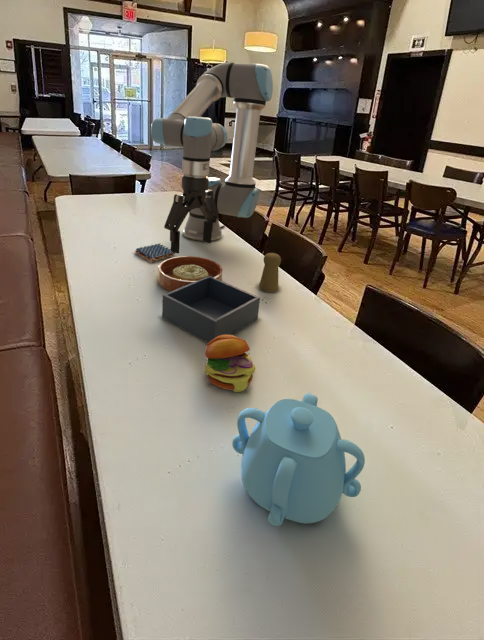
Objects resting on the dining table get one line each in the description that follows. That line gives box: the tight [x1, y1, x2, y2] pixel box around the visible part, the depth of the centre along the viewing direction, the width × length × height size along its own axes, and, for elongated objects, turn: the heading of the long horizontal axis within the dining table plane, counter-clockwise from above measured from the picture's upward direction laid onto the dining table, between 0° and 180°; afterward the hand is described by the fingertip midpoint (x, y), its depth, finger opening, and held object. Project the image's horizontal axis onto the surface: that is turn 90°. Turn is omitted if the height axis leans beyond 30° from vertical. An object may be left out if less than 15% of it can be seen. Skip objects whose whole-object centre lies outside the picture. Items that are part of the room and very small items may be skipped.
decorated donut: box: [173, 264, 208, 281], centre depth 126 cm, size 10×11×4 cm
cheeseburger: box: [204, 334, 257, 393], centre depth 85 cm, size 10×11×10 cm
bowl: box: [157, 255, 223, 292], centre depth 126 cm, size 19×19×4 cm
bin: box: [161, 276, 261, 344], centre depth 106 cm, size 18×18×6 cm
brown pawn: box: [258, 252, 282, 293], centre depth 125 cm, size 6×6×11 cm
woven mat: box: [134, 243, 176, 264], centre depth 144 cm, size 10×11×2 cm
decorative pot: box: [231, 392, 366, 527], centre depth 61 cm, size 16×16×14 cm
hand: (191, 247), depth 122 cm, fingers open, 13 cm apart
